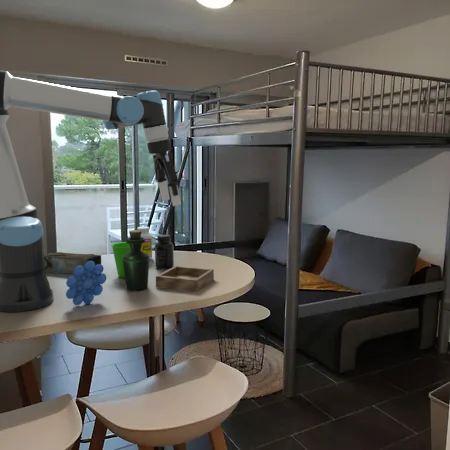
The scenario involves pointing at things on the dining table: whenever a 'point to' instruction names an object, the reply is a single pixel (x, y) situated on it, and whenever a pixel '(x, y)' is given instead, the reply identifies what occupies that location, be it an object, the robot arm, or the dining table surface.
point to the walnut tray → (185, 278)
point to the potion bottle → (136, 263)
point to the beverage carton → (68, 261)
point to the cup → (120, 256)
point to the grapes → (85, 283)
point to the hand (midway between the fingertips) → (171, 202)
